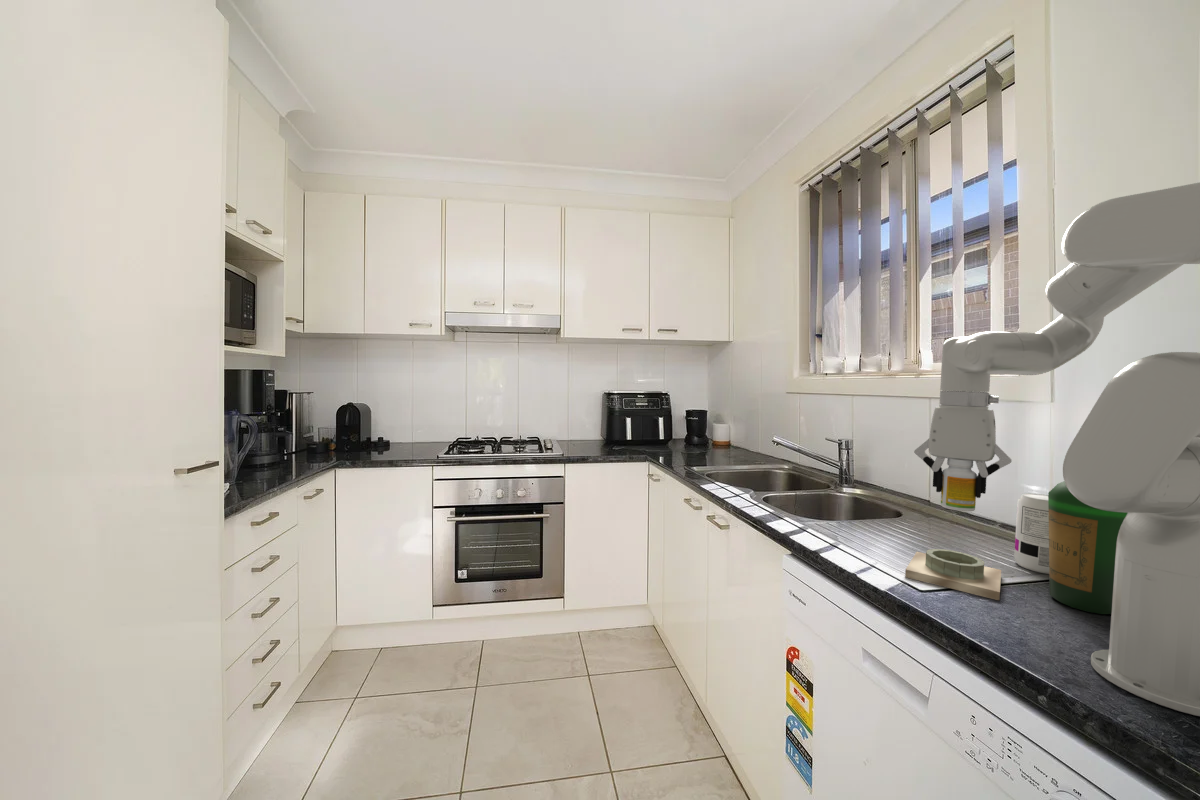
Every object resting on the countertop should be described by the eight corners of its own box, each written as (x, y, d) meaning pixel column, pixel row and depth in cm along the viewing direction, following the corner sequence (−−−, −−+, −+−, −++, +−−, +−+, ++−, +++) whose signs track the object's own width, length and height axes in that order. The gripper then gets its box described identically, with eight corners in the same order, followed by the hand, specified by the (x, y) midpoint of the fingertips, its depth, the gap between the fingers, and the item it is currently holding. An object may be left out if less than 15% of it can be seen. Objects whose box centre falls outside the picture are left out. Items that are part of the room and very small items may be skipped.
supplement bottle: (982, 512, 89) (985, 461, 88) (953, 511, 89) (956, 460, 89) (961, 505, 94) (963, 457, 94) (933, 504, 94) (936, 456, 94)
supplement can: (1004, 559, 103) (1008, 491, 103) (1046, 562, 102) (1050, 493, 101) (1032, 574, 95) (1037, 500, 94) (1078, 577, 94) (1083, 503, 93)
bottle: (1036, 585, 89) (1045, 439, 88) (1117, 602, 83) (1128, 444, 82) (1047, 606, 80) (1058, 444, 79) (1139, 626, 74) (1152, 451, 73)
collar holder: (1000, 577, 93) (1002, 557, 93) (999, 600, 82) (1000, 578, 82) (916, 558, 102) (917, 540, 102) (905, 577, 91) (906, 556, 91)
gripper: (1022, 403, 88) (1016, 498, 89) (913, 399, 99) (909, 484, 100) (1023, 403, 82) (1017, 505, 83) (907, 399, 94) (903, 489, 94)
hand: (958, 492), depth 91 cm, fingers closed on supplement bottle, 5 cm apart
